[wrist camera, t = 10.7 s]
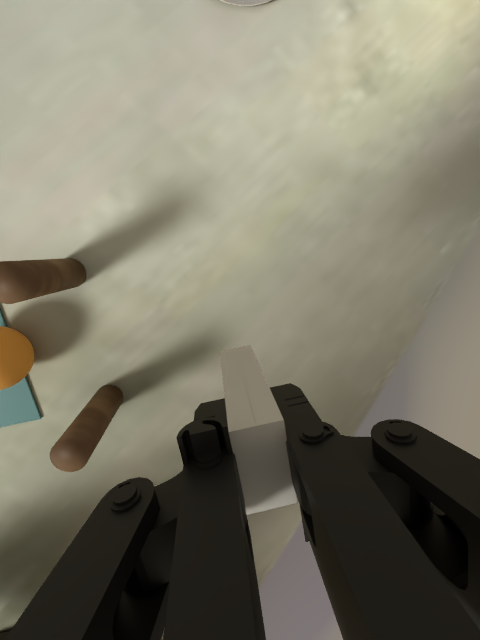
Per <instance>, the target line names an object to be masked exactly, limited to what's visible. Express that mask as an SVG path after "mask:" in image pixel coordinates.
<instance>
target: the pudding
mask: <svg viewBox="0 0 480 640" xmlns="http://www.w3.org/2000/svg"><path fill="white" fill-rule="evenodd" d="M220 1H223V2H225V3H228V4H232V5H237V6H255V5H259V4H264V3H267V2H269V1H271V0H220Z"/></svg>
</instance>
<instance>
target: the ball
mask: <svg viewBox="0 0 480 640" xmlns="http://www.w3.org/2000/svg"><path fill="white" fill-rule="evenodd" d="M33 362H34V350H33V347H32V345H31V343H30V341H29V340H28V339H27V338H26V337H25V336H24V335H23V334H22V333H20V332H18V331H16V330H14V329H11V328H8V327H2V326H0V390H3V389H6V388H9V387H11V386H13V385H15V384H17V383H18V382H20V381H21V380H22V379H23V378H24V377H25V376H26V375H27V374H28V373H29V371H30V370H31V368H32V365H33Z"/></svg>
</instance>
